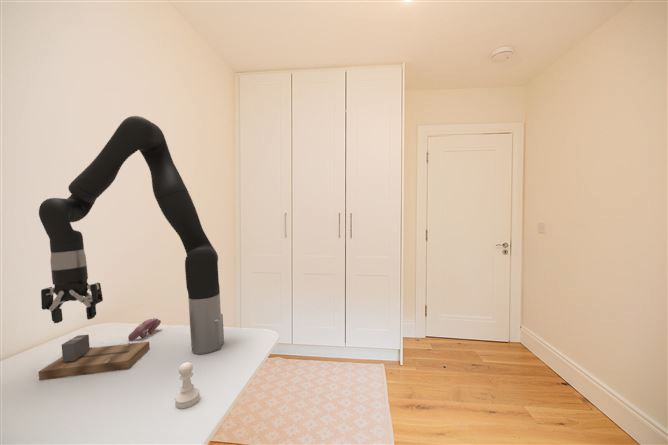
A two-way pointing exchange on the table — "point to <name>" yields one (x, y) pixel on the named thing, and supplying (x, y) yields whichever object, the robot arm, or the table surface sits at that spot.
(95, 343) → the table surface
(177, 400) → the chess pawn
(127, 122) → the robot arm
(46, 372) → the fader base
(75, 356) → the fader cap
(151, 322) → the video game controller
